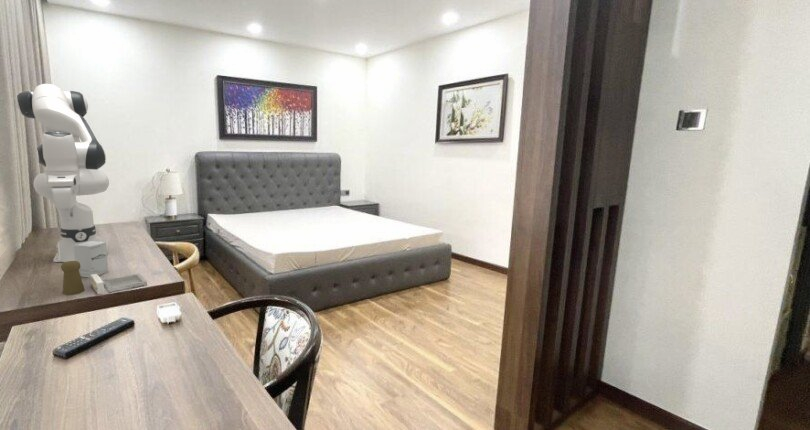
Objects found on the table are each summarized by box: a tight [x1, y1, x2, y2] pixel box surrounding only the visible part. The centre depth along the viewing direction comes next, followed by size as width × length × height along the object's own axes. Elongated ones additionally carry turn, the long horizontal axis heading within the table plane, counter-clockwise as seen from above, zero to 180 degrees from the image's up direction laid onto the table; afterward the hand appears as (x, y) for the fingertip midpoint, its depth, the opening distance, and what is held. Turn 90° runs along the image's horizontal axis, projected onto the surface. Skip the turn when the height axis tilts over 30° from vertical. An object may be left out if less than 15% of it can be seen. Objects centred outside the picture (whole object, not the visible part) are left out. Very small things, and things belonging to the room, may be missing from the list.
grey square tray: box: [102, 273, 148, 293], centre depth 147 cm, size 12×12×2 cm
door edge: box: [89, 274, 105, 295], centre depth 142 cm, size 12×2×4 cm, turn 46°
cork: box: [60, 261, 85, 296], centre depth 138 cm, size 6×6×11 cm
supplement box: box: [74, 241, 109, 279], centre depth 156 cm, size 7×7×13 cm
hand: (68, 219), depth 137 cm, fingers open, 8 cm apart
